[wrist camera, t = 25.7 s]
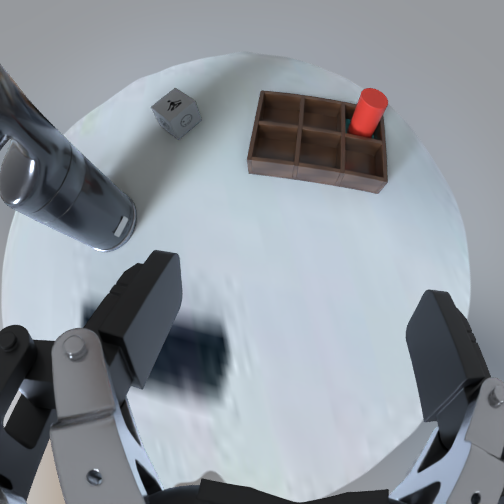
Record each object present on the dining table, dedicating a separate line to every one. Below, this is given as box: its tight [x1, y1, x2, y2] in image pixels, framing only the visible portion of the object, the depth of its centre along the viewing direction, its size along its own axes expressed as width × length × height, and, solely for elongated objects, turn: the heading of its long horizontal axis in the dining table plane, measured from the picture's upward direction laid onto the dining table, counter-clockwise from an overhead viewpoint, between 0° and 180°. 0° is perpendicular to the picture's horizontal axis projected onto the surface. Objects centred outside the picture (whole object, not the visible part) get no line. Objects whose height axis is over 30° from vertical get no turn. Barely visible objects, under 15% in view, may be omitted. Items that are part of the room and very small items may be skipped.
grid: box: [247, 91, 388, 194], centre depth 40 cm, size 19×13×4 cm
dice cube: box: [151, 88, 202, 140], centre depth 42 cm, size 5×5×5 cm
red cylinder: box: [347, 88, 388, 138], centre depth 37 cm, size 4×4×9 cm
